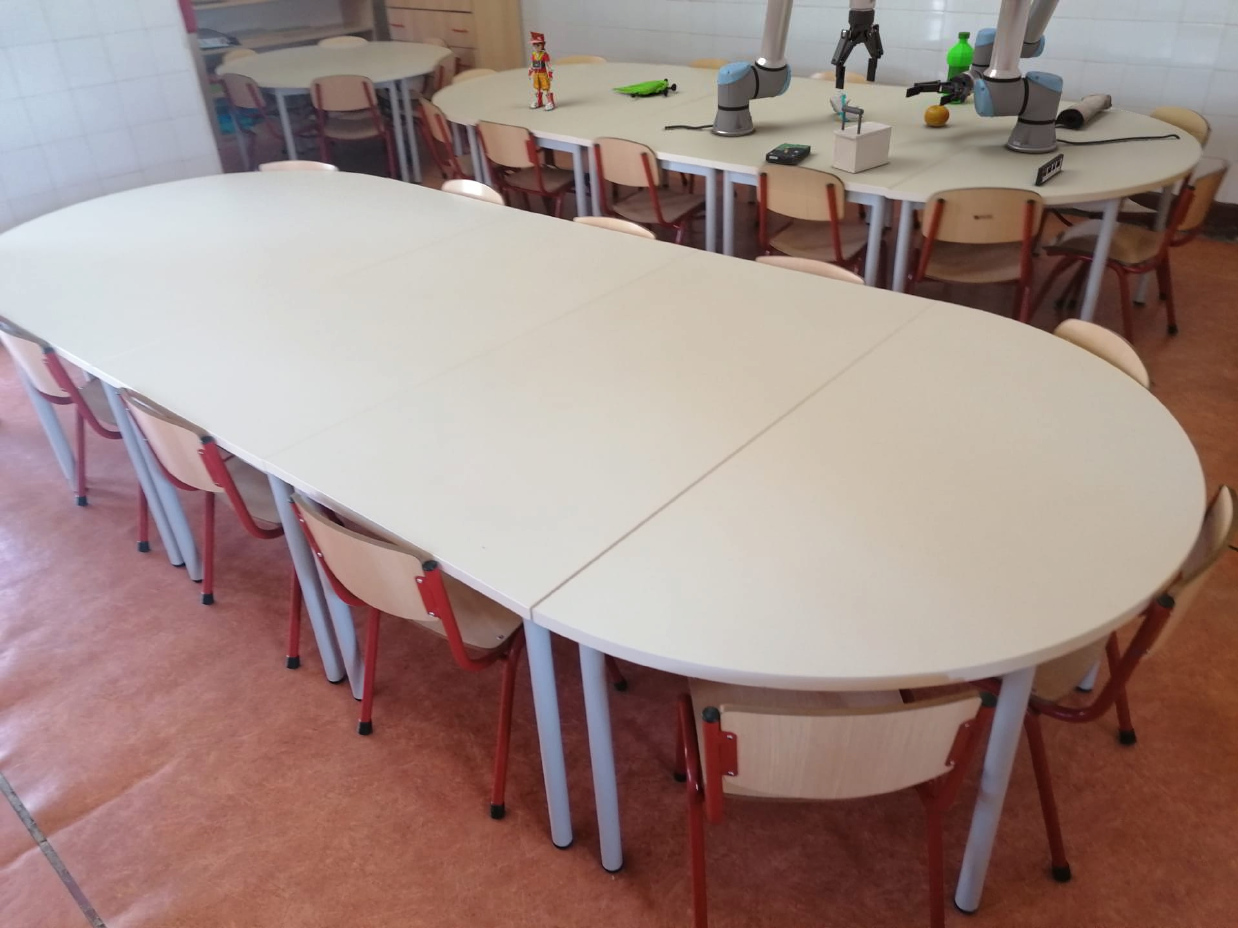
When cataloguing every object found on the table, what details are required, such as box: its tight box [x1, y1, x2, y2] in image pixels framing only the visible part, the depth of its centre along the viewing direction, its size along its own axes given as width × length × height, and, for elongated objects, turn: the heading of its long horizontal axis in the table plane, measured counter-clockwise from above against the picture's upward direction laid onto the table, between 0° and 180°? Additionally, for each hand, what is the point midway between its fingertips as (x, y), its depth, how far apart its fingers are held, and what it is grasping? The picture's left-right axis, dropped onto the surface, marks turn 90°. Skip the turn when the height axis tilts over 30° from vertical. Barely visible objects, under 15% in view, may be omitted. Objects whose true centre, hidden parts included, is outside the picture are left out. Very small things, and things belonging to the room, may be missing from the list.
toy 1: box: [527, 31, 556, 111], centre depth 374 cm, size 12×9×30 cm
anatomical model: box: [829, 90, 864, 122], centre depth 342 cm, size 15×10×10 cm
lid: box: [833, 105, 893, 140], centre depth 286 cm, size 16×9×9 cm, turn 124°
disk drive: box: [765, 142, 812, 165], centre depth 304 cm, size 10×3×15 cm
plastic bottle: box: [942, 31, 974, 104], centre depth 348 cm, size 10×10×25 cm
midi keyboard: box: [1035, 153, 1065, 186], centre depth 273 cm, size 18×1×5 cm, turn 138°
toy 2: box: [612, 78, 677, 99], centre depth 396 cm, size 28×5×30 cm
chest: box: [832, 129, 892, 174], centre depth 292 cm, size 16×9×11 cm, turn 124°
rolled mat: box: [1055, 93, 1113, 130], centre depth 324 cm, size 30×9×10 cm
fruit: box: [923, 104, 950, 127], centre depth 326 cm, size 8×8×8 cm
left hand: (855, 85), depth 278 cm, fingers open, 13 cm apart
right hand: (923, 97), depth 296 cm, fingers open, 13 cm apart
